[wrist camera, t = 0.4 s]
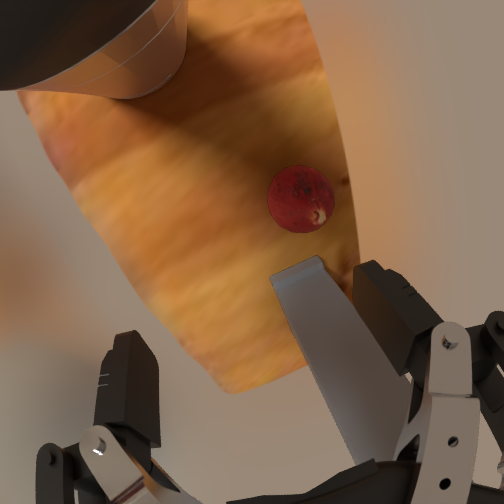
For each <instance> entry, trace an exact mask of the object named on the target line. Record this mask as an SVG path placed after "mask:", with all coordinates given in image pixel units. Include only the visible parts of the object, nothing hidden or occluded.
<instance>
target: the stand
mask: <svg viewBox="0 0 504 504" xmlns="http://www.w3.org/2000/svg"><path fill="white" fill-rule="evenodd" d="M269 278H270V280H271V283H272V285H273V287H274V290H275V292H276V295H277V297H278V299H279V302H280V304H281V307H282V309H283V311H284V314H285V316H286V319H287V321H288V323H289V326H290V328H291V331H292V333H293V335H294V337H295V338H296V341H297V343H298V345H299V347H300V349H301V351H302V353H303V355H304V357H305V359H306V361H307V364H308V366H309V368H310V370H311V372H312V374H313V376H314V378H315V380H316V382H317V385H318V386H319V389H320V391H321V393H322V395H323V397H324V399H325V401H326V403H327V406H328V408H329V410H330V412H331V414H332V416H333V418H334V420H335V422H336V425H337V426H338V429H339V431H340V433H341V435H342V437H343V439H344V441H345V443H346V446H347V448H348V450H349V452H350V454H351V456H352V458H353V460H354V462H355V464H356V466H357V465H359V464H361V463H363V462H366V461H368V460H370V459H372V458H374V459H375V462H380V461H392V460H393V457H394V453H395V449H396V446H397V443H398V440H399V437H400V435H401V432H402V430H403V427H404V422H405V417H406V412H407V406H408V400H409V394H410V387H411V383H410V382H409V381H408V379H407V378H406V376H405V375H402V376H401V377H399V375H398V374H397V372H396V370H395V369H394V367H393V366H392V364H391V363H390V361H389V360H388V358H387V356H386V355H385V353H384V352H383V350H382V349H381V347H380V346H379V344H378V343H377V341H376V340H375V338H374V337H373V335H372V334H371V332H370V331H369V329H368V328H367V326H366V325H365V323H364V322H363V320H362V319H361V317H360V316H359V314H358V313H357V311H356V309H355V307H354V306H353V304H352V303H351V302H350V301H349V299H348V298H347V297H346V295H345V294H344V293H343V292H342V290H341V289H340V288H339V287H338V285H337V284H336V283H335V281H334V280H333V279H332V278H331V276H330V275H329V274H328V273H327V271H326V270H325V269H324V266H323V262H322V261H321V259H320V258H319V257H318V256H317V255H316V256H314V257H311V258H309V259H307V260H305V261H303V262H301V263H298V264H296V265H294V266H292V267H290V268H287V269H285V270H283V271H281V272H279V273H276V274H274V275H272V276H270V277H269ZM472 483H474V482H473V480H472Z"/></svg>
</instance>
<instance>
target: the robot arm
mask: <svg viewBox="0 0 504 504" xmlns="http://www.w3.org/2000/svg"><path fill="white" fill-rule="evenodd" d="M187 12H188V0H0V91H12V90H14V91H53V92H66V93H77V94H87V95H95V96H103V97H110V98H116V99H133V98H139V97H143V96H145V95H148V94H150V93H153V92H154V91H156V90H158V89H159V88H161V87H162V86H164V85H165V84H166V83H167V82H168V81H169V80H171V78H172V77H173V76H174V75H175V73H176V72H177V71H178V69H179V67H180V65H181V64H182V62H183V59H184V56H185V52H186V38H187ZM353 303H354V307H355V309H356V311H357V313H358V314H359V316H360V317H361V319H362V320H363V322H364V323H365V325H366V326H367V328H368V329H369V331H370V332H371V334H372V335H373V337H374V338H375V340H376V341H377V343H378V344H379V346H380V347H381V349H382V350H383V352H384V353H385V355H386V356H387V358H388V360H389V361H390V363H391V364H392V366H393V367H394V369H395V370H396V372H397V374H398V375H399V377H401V376H402V375H404V374H406V373H408V372H409V373H410V374H411V376H412V377H413V378H412V381H411V387H410V394H409V400H408V406H407V412H406V417H405V422H404V427H403V430H402V432H401V435H400V437H399V440H398V443H397V446H396V449H395V453H394V457H393V460H392V461H380V462H375V459H374V458H372V459H370V460H368V461H366V462H363V463H361V464H359V465H357V466H354V467H352V468H349V469H347V470H344V471H342V472H339V473H338V474H336V475H335V476H333V477H332V478H330V479H328V480H327V481H325V482H324V483H322V484H320V485H319V486H317V487H315V488H313V489H312V490H310V491H308V492H306V493H303V494H294V495H262V496H257V497H252V498H247V499H241V500H235V501H229V502H226V504H504V377H503V376H502V374H501V373H500V371H499V370H498V368H497V367H496V366H497V365H498V364H499V366H500V367H501V369H502V370H503V372H504V312H502V311H494V312H492V313H490V314H489V316H488V318H487V319H486V321H485V323H484V324H482V325H478V326H473V327H469V328H463V327H462V326H461V325H459V324H457V323H454V322H444V321H443V320H442V319H441V318H440V317H439V315H438V314H437V313H436V312H435V311H434V310H433V309H432V307H431V306H430V305H429V304H428V303H427V302H426V301H425V299H424V298H423V297H422V296H421V295H420V294H419V293H417V291H416V290H415V289H414V288H413V287H412V286H410V283H409V282H408V281H407V280H406V279H405V278H404V277H403V276H402V275H401V274H399V273H397V272H395V271H393V270H391V269H388V270H384V269H383V268H382V267H381V266H380V265H379V264H378V263H377V262H376V261H375V260H371V261H368V262H365V263H362V264H360V265H357V266H355V267H354V270H353ZM98 385H99V387H98V391H97V398H96V406H95V415H94V424H93V426H92V427H90V428H88V429H87V430H86V431H85V432H84V433H83V435H82V437H81V439H80V442H79V443H77V444H74V445H71V446H69V447H66V448H63V449H62V448H60V447H59V446H57V445H56V444H53V443H47V444H45V445H43V446H42V447H41V448H40V450H39V451H38V454H37V460H36V504H75V499H74V489H75V490H77V491H78V500H79V504H203V503H201V502H200V501H199V500H197V499H196V498H194V497H192V496H191V495H189V494H188V493H187V492H186V491H184V490H183V489H182V488H181V487H180V486H179V485H178V484H177V483H176V482H175V481H174V480H173V479H172V478H171V477H170V476H169V475H168V474H167V473H166V472H165V471H164V470H163V469H162V467H160V465H159V464H158V463H157V462H156V461H155V460H154V459H153V458H152V457H151V448H160V447H161V436H160V416H159V415H160V414H159V367H158V363H157V360H156V357H155V355H154V354H153V352H152V351H151V350H150V348H149V347H148V346H147V344H146V343H145V341H144V340H143V338H142V337H141V336H140V334H139V333H138V332H137V331H136V330H133V331H129V332H125V333H120V334H117V335H116V336H115V339H114V345H113V350H109V351H108V353H107V354H106V356H105V358H104V360H103V361H102V364H101V370H100V377H99V383H98ZM480 411H481V413H482V414H483V416H484V418H485V420H486V422H487V424H488V426H489V427H490V429H491V431H492V433H493V435H494V437H495V439H496V441H497V443H498V445H499V447H500V450H501V451H502V457H501V461H500V462H499V464H498V466H497V470H498V472H499V473H500V474H502V482H501V485H500V488H499V489H496V488H492V487H488V486H483V485H479V484H476V483H472V477H473V471H474V465H475V459H476V452H477V444H478V433H479V421H480Z"/></svg>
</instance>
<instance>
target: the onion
mask: <svg viewBox="0 0 504 504" xmlns="http://www.w3.org/2000/svg"><path fill="white" fill-rule="evenodd" d="M267 202H268V206H269V211H270V214H271V215H272V217H273V218H274V220H275V221H276V222H277V224H278V225H279V226H280V227H282V228H284V229H286V230H288V231H290V232H295V233H307V232H311V231H314V230H317V229H319V228H320V227H321V226H322V225H324V224H325V223H326V222H327V220H328V219H329V218H330V216H331V215H332V212H333V208H334V205H335V202H334V192H333V190H332V188H331V185H330V183H329V181H328V179H327V178H326V177H324V176H323V175H322V174H321V173H320V172H318V171H317V170H316V169H313V168H310V167H306V166H302V165H296V166H291V167H287V168H285V169H283V170H282V171H281V172H279V173H278V174H277V175H276V176H275V177H274V179H273V181H272V182H271V184H270V186H269V190H268V196H267Z"/></svg>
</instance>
